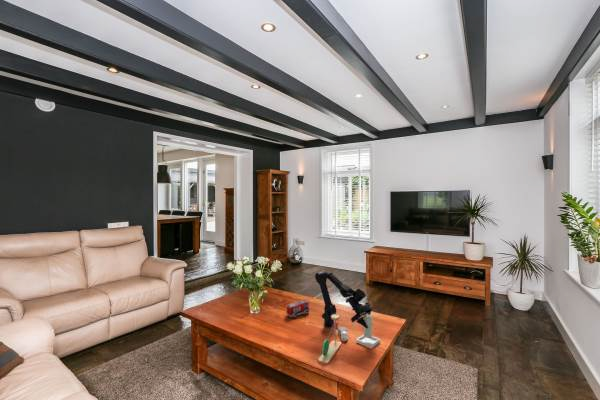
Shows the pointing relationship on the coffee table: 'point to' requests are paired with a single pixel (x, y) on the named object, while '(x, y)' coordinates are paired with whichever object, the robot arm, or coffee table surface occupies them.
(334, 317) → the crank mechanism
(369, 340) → the white tray
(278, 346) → the coffee table surface
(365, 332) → the pale green cylinder
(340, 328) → the grey block
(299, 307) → the toy fire truck
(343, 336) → the white rounded cylinder
